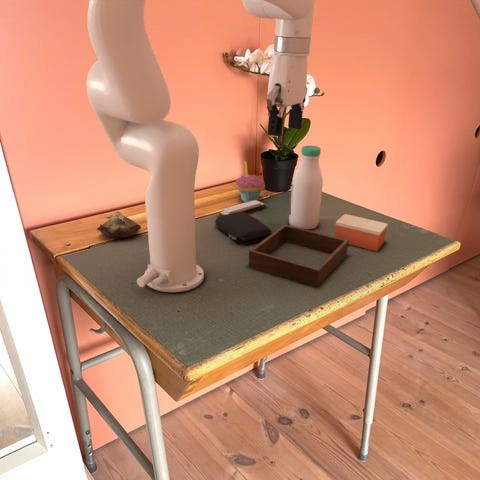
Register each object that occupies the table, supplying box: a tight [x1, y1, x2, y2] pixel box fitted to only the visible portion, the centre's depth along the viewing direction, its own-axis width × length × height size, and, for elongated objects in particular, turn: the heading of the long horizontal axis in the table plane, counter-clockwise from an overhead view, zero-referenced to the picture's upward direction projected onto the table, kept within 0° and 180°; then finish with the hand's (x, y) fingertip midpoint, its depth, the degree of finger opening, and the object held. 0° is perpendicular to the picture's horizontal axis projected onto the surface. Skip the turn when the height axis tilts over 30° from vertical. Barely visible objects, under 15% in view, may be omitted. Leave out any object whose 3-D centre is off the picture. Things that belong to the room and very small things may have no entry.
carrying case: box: [214, 212, 273, 245], centre depth 125 cm, size 11×3×15 cm
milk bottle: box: [288, 144, 324, 230], centre depth 126 cm, size 8×8×20 cm
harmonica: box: [218, 200, 267, 217], centre depth 137 cm, size 15×3×2 cm, turn 131°
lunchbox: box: [334, 213, 389, 252], centre depth 122 cm, size 6×11×5 cm, turn 59°
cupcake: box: [235, 158, 266, 203], centre depth 143 cm, size 9×8×12 cm
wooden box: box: [248, 224, 350, 288], centre depth 113 cm, size 18×17×4 cm
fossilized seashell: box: [96, 211, 142, 239], centre depth 122 cm, size 8×7×10 cm
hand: (284, 131), depth 114 cm, fingers open, 9 cm apart
